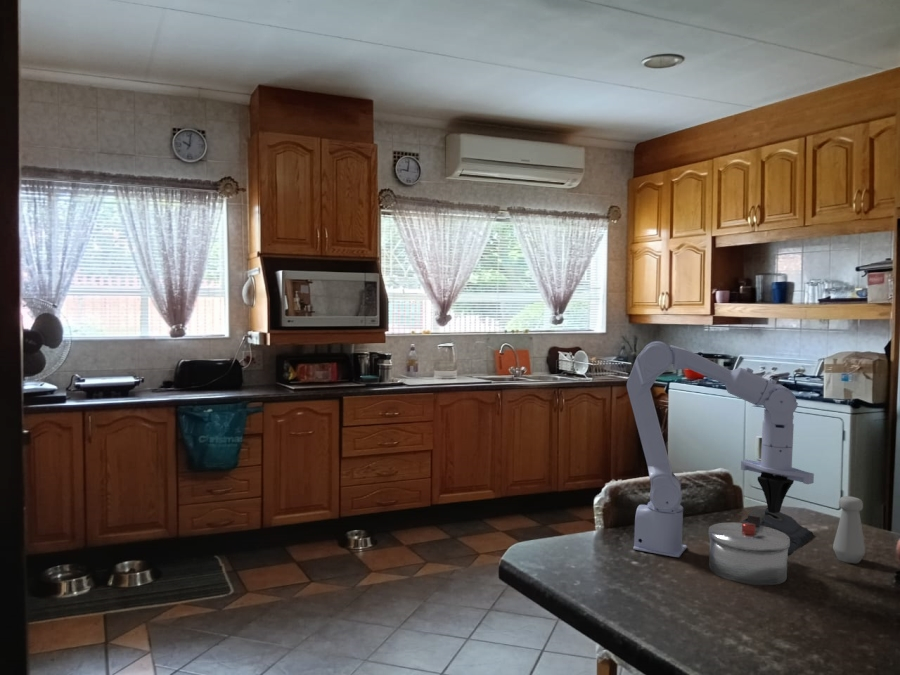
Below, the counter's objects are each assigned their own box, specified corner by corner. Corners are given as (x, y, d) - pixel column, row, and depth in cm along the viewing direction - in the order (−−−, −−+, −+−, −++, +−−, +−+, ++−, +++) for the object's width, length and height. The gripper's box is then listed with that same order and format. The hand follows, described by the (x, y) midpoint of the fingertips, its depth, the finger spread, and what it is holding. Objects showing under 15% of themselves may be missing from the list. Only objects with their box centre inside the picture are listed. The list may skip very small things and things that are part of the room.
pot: (782, 591, 130) (784, 558, 130) (702, 575, 137) (703, 544, 137) (792, 559, 147) (793, 530, 147) (720, 546, 154) (721, 519, 154)
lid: (784, 557, 130) (785, 540, 129) (701, 542, 137) (701, 525, 137) (797, 530, 147) (797, 514, 147) (722, 517, 154) (722, 503, 154)
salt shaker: (868, 566, 144) (871, 502, 144) (838, 563, 146) (840, 500, 145) (858, 556, 150) (861, 495, 150) (828, 554, 151) (831, 493, 151)
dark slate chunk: (716, 542, 159) (717, 521, 159) (748, 521, 176) (749, 502, 175) (790, 559, 149) (791, 536, 149) (817, 535, 166) (817, 515, 166)
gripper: (823, 449, 141) (820, 518, 142) (755, 437, 153) (752, 500, 153) (803, 453, 137) (800, 523, 138) (735, 440, 149) (733, 505, 149)
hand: (774, 511), depth 145 cm, fingers closed
